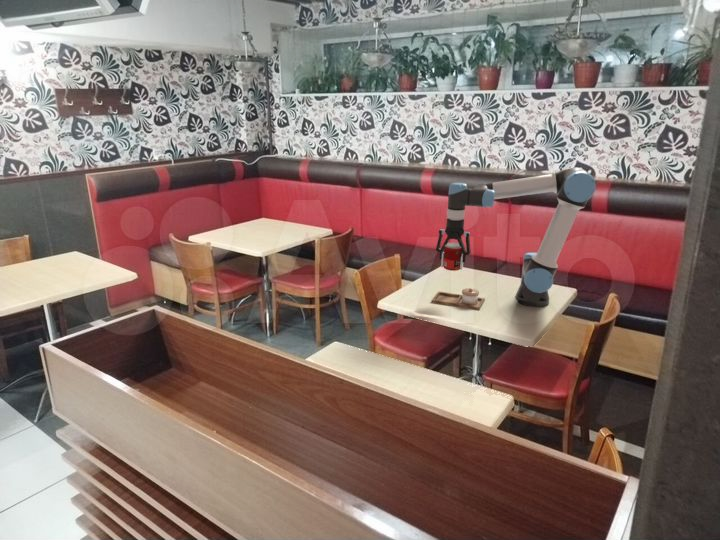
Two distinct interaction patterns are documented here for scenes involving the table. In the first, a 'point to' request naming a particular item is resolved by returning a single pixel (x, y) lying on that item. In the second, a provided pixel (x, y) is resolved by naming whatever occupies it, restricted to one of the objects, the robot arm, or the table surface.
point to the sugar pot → (470, 296)
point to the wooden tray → (455, 300)
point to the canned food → (452, 256)
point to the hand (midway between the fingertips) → (451, 267)
